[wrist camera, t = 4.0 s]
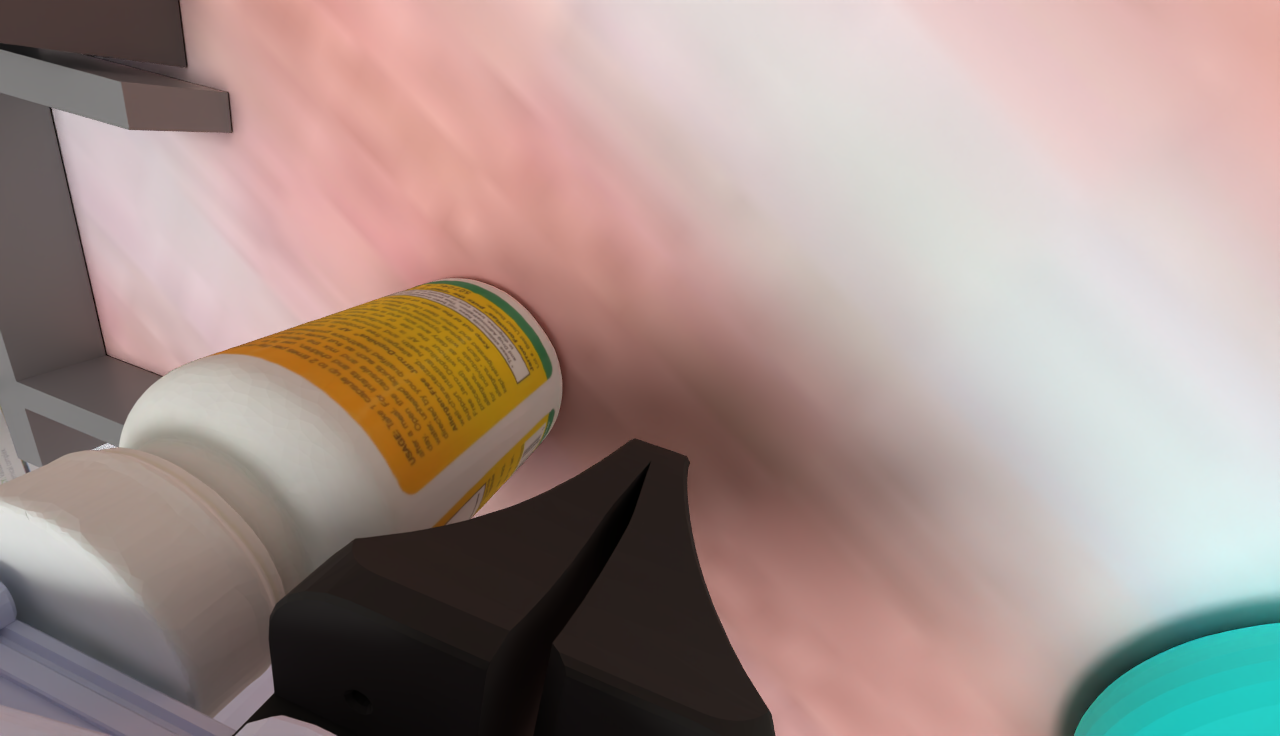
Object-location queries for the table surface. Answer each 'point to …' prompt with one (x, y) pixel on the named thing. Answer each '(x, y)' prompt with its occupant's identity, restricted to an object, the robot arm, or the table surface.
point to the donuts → (1197, 690)
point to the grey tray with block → (42, 211)
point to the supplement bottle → (274, 479)
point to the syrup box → (10, 456)
